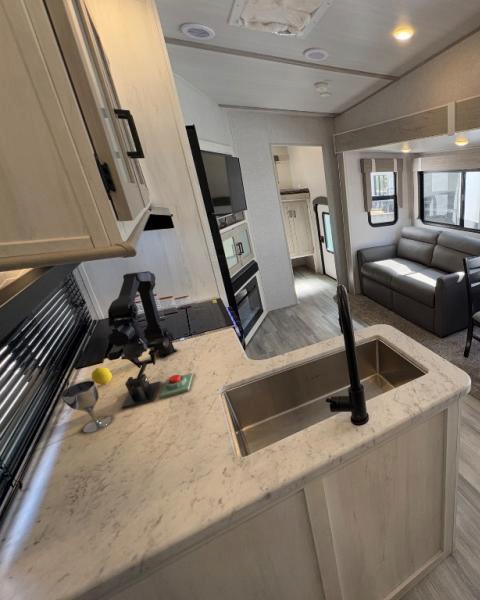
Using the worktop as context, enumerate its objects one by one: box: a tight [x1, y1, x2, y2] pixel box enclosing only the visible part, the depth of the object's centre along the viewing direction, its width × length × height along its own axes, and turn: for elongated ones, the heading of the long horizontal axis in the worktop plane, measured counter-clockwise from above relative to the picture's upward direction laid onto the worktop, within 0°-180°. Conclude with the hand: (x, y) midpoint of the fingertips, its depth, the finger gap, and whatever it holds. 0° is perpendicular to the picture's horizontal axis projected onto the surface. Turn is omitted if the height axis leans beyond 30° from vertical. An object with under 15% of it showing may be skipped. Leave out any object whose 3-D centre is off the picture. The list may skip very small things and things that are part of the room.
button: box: [168, 374, 181, 384], centre depth 120 cm, size 4×4×2 cm
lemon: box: [91, 366, 113, 385], centre depth 123 cm, size 6×6×8 cm
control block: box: [159, 373, 194, 399], centre depth 121 cm, size 11×9×3 cm
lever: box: [131, 358, 153, 388], centre depth 120 cm, size 15×4×2 cm, turn 25°
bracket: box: [121, 373, 161, 410], centre depth 116 cm, size 12×9×8 cm
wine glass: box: [60, 380, 112, 434], centre depth 101 cm, size 8×8×15 cm
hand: (147, 365), depth 126 cm, fingers closed on lever, 4 cm apart
